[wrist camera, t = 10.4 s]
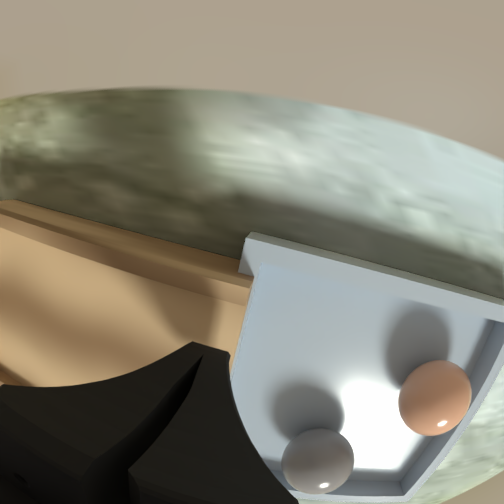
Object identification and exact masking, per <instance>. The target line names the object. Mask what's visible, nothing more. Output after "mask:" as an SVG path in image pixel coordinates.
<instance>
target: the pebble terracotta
mask: <svg viewBox="0 0 504 504" xmlns="http://www.w3.org/2000/svg"><path fill="white" fill-rule="evenodd" d="M471 396H472V389H471V383H470V380H469V378H468V376H467V374H466V373H465V371H464V370H463V369H462V368H461V367H460V366H458V365H457V364H455V363H453V362H450V361H447V360H433V361H430V362H426V363H424V364H422V365H420V366H419V367H417V368H416V369H415V370H413V371H412V372H411V373H410V374H409V375H408V377H407V378H406V380H405V381H404V383H403V385H402V387H401V389H400V393H399V397H398V409H399V414H400V416H401V419H402V421H403V422H404V424H405V425H406V426H407V427H408V428H409V429H410V430H412V431H413V432H415V433H417V434H420V435H425V436H434V435H440V434H443V433H445V432H447V431H449V430H451V429H452V428H454V427H455V426H456V425H457V424H458V423H459V422H460V421H461V420H462V419H463V417H464V416H465V414H466V413H467V411H468V409H469V405H470V402H471Z"/></svg>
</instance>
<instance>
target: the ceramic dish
mask: <svg viewBox="0 0 504 504" xmlns="http://www.w3.org/2000/svg"><path fill="white" fill-rule="evenodd" d="M238 273H242V274H246V275H250V276H254V281H253V285H252V289H251V293H250V297H249V301H248V305H247V309H246V313H245V317H244V321H243V325H242V329H241V333H240V337H239V341H238V345H237V349H236V353H235V357H234V361H233V365H232V369H231V373H230V380H231V386H232V391H233V395H234V399H235V403H236V406H237V409H238V412H239V415H240V418H241V420H242V422H243V425H244V427H245V429H246V431H247V433H248V435H249V437H250V439H251V441H252V443H253V445H254V446H255V448H256V450H257V451H258V453H259V454H260V456H261V458H262V459H263V461H264V462H265V464H266V465H267V466H268V468H269V469H270V470H271V472H272V473H273V474H274V476H275V477H276V478H277V479H278V480H279V482H280V483H281V484H282V485H283V486H284V487H285V488H286V489H287V490H288V491H289V492H290V493H291V494H292V495H293V496H294V497H295V498H302V499H311V500H322V501H335V502H358V503H388V502H408V501H409V500H410V498H411V497H412V496H413V495H414V494H415V493H416V492H417V491H418V490H419V489H420V487H421V486H422V485H423V484H424V483H425V482H426V481H427V479H428V478H429V477H430V476H431V475H432V473H433V472H434V471H435V470H436V469H437V467H438V466H439V465H440V464H441V462H442V461H443V460H444V458H445V457H446V456H447V454H448V453H449V452H450V450H451V449H452V448H453V446H454V445H455V444H456V442H457V441H458V439H459V438H460V437H461V435H462V434H463V432H464V431H465V429H466V428H467V426H468V425H469V423H470V422H471V420H472V419H473V417H474V415H475V414H476V412H477V411H478V409H479V407H480V406H481V404H482V402H483V401H484V399H485V397H486V396H487V394H488V392H489V390H490V389H491V387H492V385H493V383H494V381H495V379H496V377H497V376H498V374H499V372H500V370H501V368H502V366H503V364H504V300H503V299H500V298H497V297H493V296H490V295H487V294H483V293H480V292H476V291H473V290H469V289H466V288H462V287H459V286H455V285H452V284H448V283H445V282H441V281H438V280H434V279H431V278H427V277H424V276H420V275H416V274H413V273H409V272H406V271H402V270H398V269H395V268H391V267H387V266H384V265H380V264H376V263H373V262H369V261H365V260H361V259H358V258H354V257H350V256H346V255H343V254H339V253H335V252H331V251H327V250H324V249H320V248H316V247H312V246H308V245H304V244H301V243H297V242H293V241H289V240H285V239H281V238H277V237H273V236H269V235H265V234H261V233H257V232H253V231H252V232H251V233H250V234H249V235H248V236H247V237H246V239H245V243H244V248H243V252H242V256H241V261H240V265H239V269H238ZM433 360H447V361H450V362H453V363H455V364H457V365H458V366H460V367H461V368H462V369H463V370H464V371H465V373H466V374H467V376H468V378H469V380H470V383H471V389H472V396H471V402H470V405H469V409H468V411H467V413H466V414H465V416H464V417H463V419H462V420H461V421H460V422H459V423H458V424H457V425H456V426H455V427H454V428H452V429H451V430H449V431H447V432H445V433H443V434H440V435H434V436H425V435H420V434H417V433H415V432H413V431H412V430H410V429H409V428H408V427H407V426H406V425H405V424H404V422H403V421H402V419H401V416H400V414H399V409H398V397H399V393H400V389H401V387H402V385H403V383H404V381H405V380H406V378H407V377H408V375H409V374H410V373H411V372H412V371H413V370H415V369H416V368H417V367H419V366H420V365H422V364H424V363H426V362H430V361H433ZM315 428H326V429H331V430H334V431H336V432H339V433H340V434H342V435H343V436H344V437H345V438H346V439H347V440H348V441H349V442H350V444H351V446H352V448H353V451H354V455H355V463H354V468H353V470H352V473H351V475H350V476H349V478H348V479H347V480H346V482H345V483H344V484H342V485H341V486H340V487H338V488H337V489H335V490H333V491H331V492H328V493H325V494H316V495H314V494H306V493H303V492H300V491H298V490H296V489H295V488H293V487H292V486H291V485H290V484H289V483H288V482H287V481H286V479H285V477H284V475H283V472H282V468H281V459H282V455H283V452H284V450H285V448H286V446H287V445H288V443H289V442H290V441H291V440H292V439H293V438H294V437H296V436H297V435H298V434H300V433H302V432H304V431H307V430H310V429H315Z"/></svg>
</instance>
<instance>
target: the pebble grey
mask: <svg viewBox="0 0 504 504" xmlns="http://www.w3.org/2000/svg"><path fill="white" fill-rule="evenodd" d="M354 463H355V455H354V451H353V448H352V446H351V444H350V442H349V441H348V440H347V439H346V438H345V437H344V436H343V435H342V434H340V433H339V432H336V431H334V430H331V429H326V428H315V429H310V430H307V431H304V432H302V433H300V434H298V435H297V436H296V437H294V438H293V439H292V440H291V441H290V442H289V443H288V445H287V446H286V448H285V450H284V452H283V455H282V459H281V468H282V472H283V475H284V477H285V479H286V481H287V482H288V483H289V484H290V485H291V486H292V487H293V488H295V489H296V490H298V491H300V492H303V493H306V494H314V495H316V494H325V493H328V492H331V491H333V490H335V489H337V488H338V487H340V486H341V485H342V484H344V483H345V482H346V480H347V479H348V478H349V476H350V475H351V473H352V470H353V468H354Z"/></svg>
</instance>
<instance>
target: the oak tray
mask: <svg viewBox="0 0 504 504" xmlns="http://www.w3.org/2000/svg"><path fill="white" fill-rule="evenodd" d="M240 261H241V260H238V259H234V258H230V257H226V256H223V255H219V254H215V253H211V252H207V251H203V250H200V249H196V248H192V247H188V246H184V245H181V244H177V243H173V242H169V241H165V240H162V239H158V238H154V237H150V236H147V235H143V234H139V233H135V232H132V231H128V230H124V229H120V228H117V227H113V226H109V225H106V224H102V223H98V222H95V221H91V220H87V219H84V218H80V217H76V216H73V215H69V214H65V213H62V212H58V211H54V210H51V209H47V208H44V207H40V206H36V205H33V204H29V203H26V202H22V201H18V200H15V199H13V200H3V201H0V386H1V385H2V384H7V385H17V386H31V387H58V386H71V385H79V384H85V383H91V382H96V381H102V380H106V379H110V378H113V377H117V376H120V375H124V374H127V373H130V372H132V371H135V370H137V369H140V368H142V367H144V366H147V365H149V364H151V363H153V362H155V361H157V360H159V359H161V358H163V357H165V356H167V355H169V354H170V353H172V352H174V351H176V350H177V349H179V348H181V347H183V346H184V345H186V344H188V343H190V342H192V341H193V342H197V343H200V344H203V345H207V346H210V347H214V348H217V349H221V350H224V351H228V352H229V354H230V355H231V357H230V361H229V372H230V373H231V369H232V365H233V361H234V357H235V353H236V349H237V345H238V341H239V337H240V333H241V329H242V325H243V321H244V317H245V313H246V309H247V305H248V301H249V297H250V293H251V289H252V285H253V281H254V276H250V275H246V274H242V273H238V269H239V265H240Z"/></svg>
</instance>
